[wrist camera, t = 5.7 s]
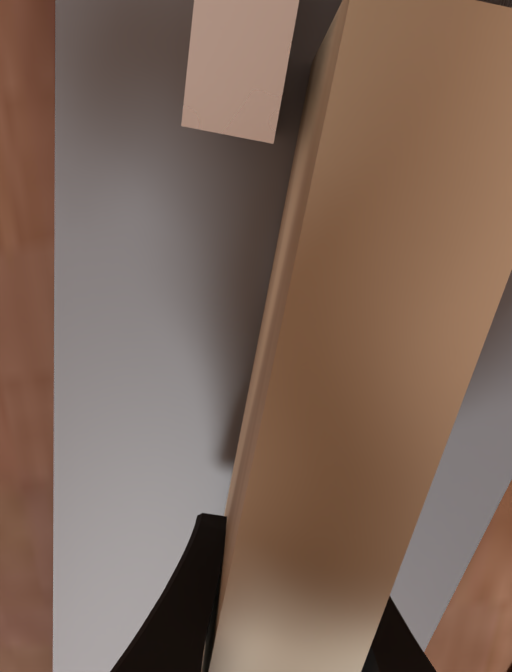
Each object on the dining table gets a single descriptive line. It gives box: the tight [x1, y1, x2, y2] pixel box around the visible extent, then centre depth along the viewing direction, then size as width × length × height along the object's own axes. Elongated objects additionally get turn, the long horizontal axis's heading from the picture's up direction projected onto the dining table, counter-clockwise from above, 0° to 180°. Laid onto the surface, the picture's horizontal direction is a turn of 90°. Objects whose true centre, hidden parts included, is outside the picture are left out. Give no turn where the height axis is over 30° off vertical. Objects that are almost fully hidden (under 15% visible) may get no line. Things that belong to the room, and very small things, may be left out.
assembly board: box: [53, 0, 512, 672], centre depth 14 cm, size 12×35×1 cm, turn 170°
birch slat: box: [201, 0, 512, 672], centre depth 9 cm, size 2×14×4 cm, turn 170°
